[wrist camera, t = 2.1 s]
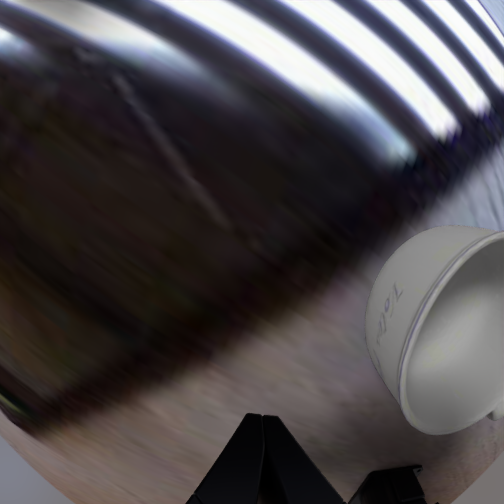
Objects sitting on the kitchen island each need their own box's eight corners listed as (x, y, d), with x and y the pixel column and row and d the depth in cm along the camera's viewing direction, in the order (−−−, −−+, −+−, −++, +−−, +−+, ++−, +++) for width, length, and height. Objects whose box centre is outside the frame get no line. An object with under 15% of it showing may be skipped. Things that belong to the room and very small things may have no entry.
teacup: (323, 259, 18) (372, 313, 10) (461, 187, 17) (549, 196, 9) (383, 412, 20) (419, 485, 12) (490, 346, 19) (545, 393, 11)
